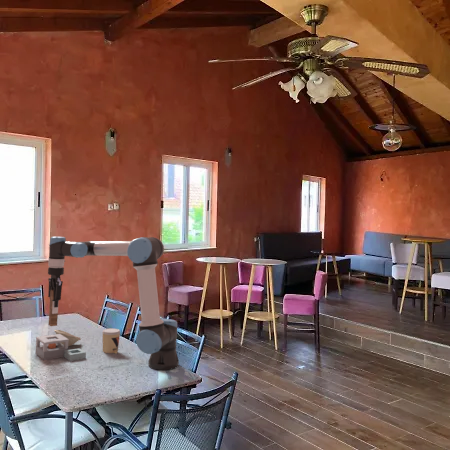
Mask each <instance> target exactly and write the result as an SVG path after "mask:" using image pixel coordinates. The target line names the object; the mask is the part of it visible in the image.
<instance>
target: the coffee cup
mask: <svg viewBox="0 0 450 450" xmlns="http://www.w3.org/2000/svg"><path fill="white" fill-rule="evenodd" d="M120 336H121V330H120V329H119V328H113V327H111V328H104V329H103V330H102V352H103V353H105V354H115V355H117V354H118V353H119V352H118V351H119V343H120Z"/></svg>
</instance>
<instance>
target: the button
mask: <svg viewBox="0 0 450 450" xmlns="http://www.w3.org/2000/svg"><path fill="white" fill-rule="evenodd" d="M51 348H56V343H53V344H48V349H51Z"/></svg>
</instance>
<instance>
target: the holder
mask: <svg viewBox="0 0 450 450" xmlns="http://www.w3.org/2000/svg"><path fill="white" fill-rule="evenodd" d="M86 354H87V352H86V351H85V350H83V349H81V348H80V347H79V348H74V349H73V348H72V349H68V350H65V351H64V357H63V358H65V359H66V360H68V361H70V362H71V361H78V360H83V359H87V358H86Z"/></svg>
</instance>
